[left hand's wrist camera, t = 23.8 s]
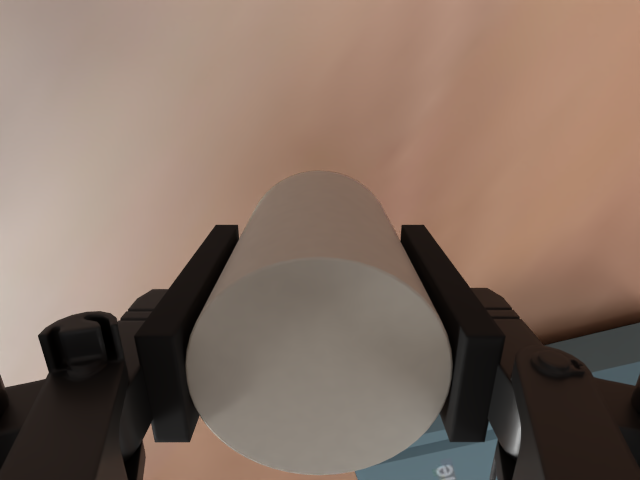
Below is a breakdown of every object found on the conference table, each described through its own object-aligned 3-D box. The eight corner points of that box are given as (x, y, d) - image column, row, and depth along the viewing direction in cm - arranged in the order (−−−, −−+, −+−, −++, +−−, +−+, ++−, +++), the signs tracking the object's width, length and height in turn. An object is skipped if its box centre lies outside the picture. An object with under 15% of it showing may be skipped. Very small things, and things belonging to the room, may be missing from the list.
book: (389, 522, 36) (399, 587, 31) (339, 385, 30) (343, 440, 26) (652, 469, 34) (705, 531, 29) (651, 310, 28) (717, 356, 23)
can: (263, 309, 17) (218, 486, 10) (235, 181, 15) (150, 277, 8) (394, 294, 17) (455, 464, 9) (384, 160, 15) (451, 239, 7)
